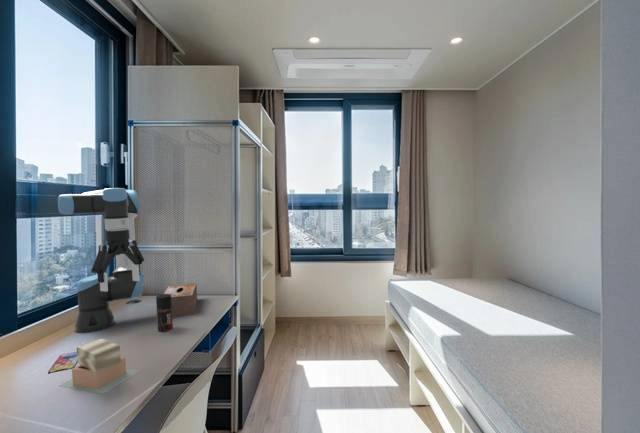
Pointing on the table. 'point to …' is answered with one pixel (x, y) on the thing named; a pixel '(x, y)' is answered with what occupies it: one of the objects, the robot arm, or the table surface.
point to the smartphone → (64, 362)
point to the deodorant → (164, 312)
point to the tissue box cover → (182, 298)
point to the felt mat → (106, 387)
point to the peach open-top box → (97, 375)
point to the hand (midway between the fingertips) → (121, 285)
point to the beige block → (98, 355)
